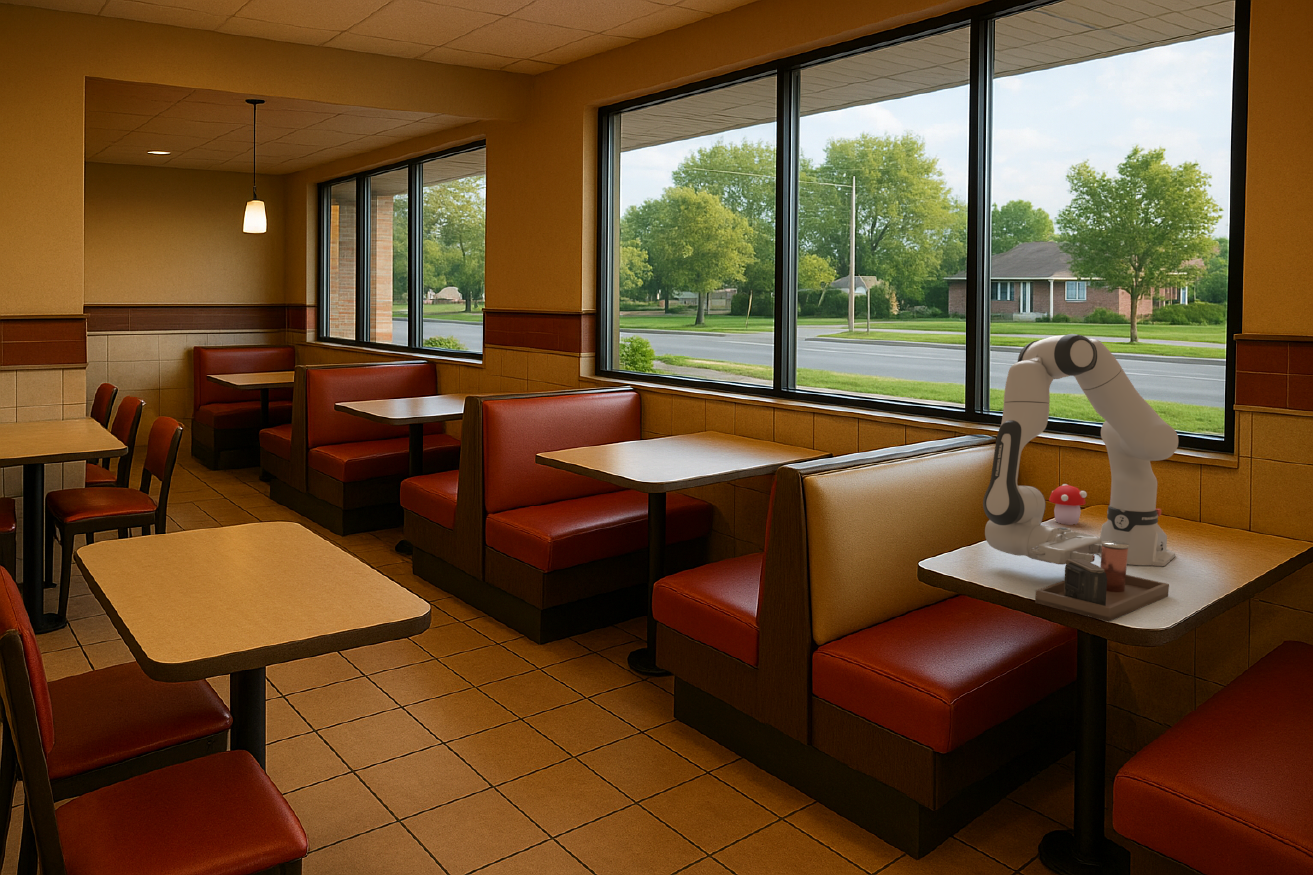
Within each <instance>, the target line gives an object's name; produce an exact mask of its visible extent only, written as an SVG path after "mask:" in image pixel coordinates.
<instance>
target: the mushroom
mask: <svg viewBox="0 0 1313 875" xmlns="http://www.w3.org/2000/svg"><path fill="white" fill-rule="evenodd" d="M1087 496H1088V493H1087V492H1086V491H1085V490H1080V488H1078V487H1077V486H1072V485H1070V484H1067V483H1063V484H1062V485H1060V486H1058V487H1056V488H1055V489H1054V490H1051V493H1050V496H1049V499H1048V502H1050V503H1053V504H1055V506H1054V510H1053V512H1054V521H1055V520H1056V523H1057V522H1058V523H1057V524H1060V523H1061V524H1062V525H1066V526H1067V525H1068V526H1069V525H1071V526H1073V524H1075V525H1078V524H1079V521H1080V516H1081V513H1082V511H1081V506H1084V505H1086V504H1087V502H1086V499H1085V498H1086V497H1087ZM1077 523H1078V524H1077ZM1061 524H1060V525H1061Z"/></svg>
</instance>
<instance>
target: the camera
mask: <svg viewBox="0 0 1313 875" xmlns="http://www.w3.org/2000/svg"><path fill="white" fill-rule="evenodd" d="M1063 581H1064V596H1067V597H1071V598H1075V599H1079V600H1083V601H1087V602H1091V603H1095V604H1099V605H1103V606H1106V588H1107V587H1106V586H1107V577H1106V573H1105V572H1104V569H1102V568H1100V566H1099V565H1097V564H1095V563H1093V562H1091V563H1090V562H1088V561H1085V560H1083V559H1068V560H1067V561H1066V564H1065V567H1064V578H1063Z"/></svg>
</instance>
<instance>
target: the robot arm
mask: <svg viewBox="0 0 1313 875" xmlns="http://www.w3.org/2000/svg"><path fill="white" fill-rule="evenodd" d="M1066 377H1074V379H1075V380H1076V382H1077V384H1078V386H1079V387H1080V388H1081V390H1082V392H1083V394H1084V395H1085V396H1086V398H1087V399H1088V401H1089V403H1090V404H1091V406H1092V407H1093V409H1094V411H1095V412H1096V413H1097V415H1099V416H1100V417H1102V419H1104V420H1105V421H1104V422H1103V423H1102V426H1101V429H1100V437H1101V440H1102V441H1103V443H1104V445H1105V448H1106V451H1107V455H1108V460H1109V466H1110V472H1111V473H1110V474H1111V475H1110V476H1111V477H1110V478H1111V485H1110V500H1109V505H1108V506H1107V511H1106V516H1107V517H1106V519H1107V521H1105V522H1103V523H1102V525H1101V530H1100V536H1099V537H1098V536H1094V535H1090V534H1087V533H1083V532H1079V531H1072V529H1071V528H1070V527H1054V526H1047V525H1046V526H1045V525H1042V522H1043V520H1044V519H1043V518H1044V514H1045V512H1046V507H1047V505H1046V504H1047V502H1046V499H1045V496H1044V494H1043V492H1041V490H1040V489H1038V488H1037V487H1035V486H1030V485H1018V478H1019V469H1020V463H1021V456H1022V451H1023V450H1024V448H1025V447H1026V445H1027V444H1028V443H1029V442H1030V441H1031V440H1034V439H1035V438H1036V437H1038V436H1040V435H1041V434H1042V433H1043V432H1044V431H1045V430H1046V428H1047V425H1048V422H1049V417H1050V402H1051V401H1050V389H1051V388H1050V387H1051V385H1052V383H1053V380H1060V379H1062V378H1063V379H1064V378H1066ZM1005 382H1006V383H1005V388H1004V396H1003V409H1002V417H1001V418H1002V419H1001V424H1000V426H999V429H998V432H997V434H996V440H995V446H994V452H993V453H994V454H993V461H992V469H991V476H990V481H989V484H988V487H987V489H986V491H985V492H984V493H985V494H984V496H983V499H982V507H983V511H984V513H985V515H986V517H987V518H988V519H989V520H988V521H987V522H986V524H985V528H984V536H985V540H986V542H987V543H988V545H989V546H990V547H991V548H993V549H995V550H996V551H999V552H1002V553H1004V554H1009V555H1013V556H1017V557H1018V556H1019V557H1021V556H1022V557H1023V556H1024V557H1028V558H1029V559H1031V560H1036V561H1040V562H1045V563H1048V564H1049V563H1050V564H1056V565H1066V561H1067V560H1068V559H1083V560H1085V561H1088V562H1090V563H1093V562H1095V555H1098V556H1099V557H1100V558H1101V553H1102V541H1119V542H1124V543H1127V544H1129V548H1128V556H1127V565H1134V566H1156V567H1157V566H1158V567H1165V566H1166V565H1168V563H1169V562H1171V561H1172V560H1173V559H1174V558H1175V557H1176V552H1175V551H1172V550H1170V549H1167V546H1168V534H1166V532H1164V530H1163V528H1161V527H1160V525H1159V524H1158V522H1159V520H1158V518H1159V517H1160V516H1161V515H1162V508H1156V507H1157V506H1156V505H1157V495H1158V479H1157V477H1156V475H1155V474H1154V472H1153V469H1152V464H1151V462H1153V461H1154V462H1156V461H1164V460H1167V459H1169V458H1171V457H1172V456H1173V455H1174V454H1175V452H1176V451H1177V448H1178V446H1179V435H1178V433H1177V431H1176V429H1175V428H1173V427H1172V426H1171V425H1170V424H1168V423H1167V422H1166V421H1165V420H1164V419H1163V418H1162V417H1161V416H1160V415H1159V414H1158V413H1157V411H1155V410H1154V408H1153V407H1152V406H1151V405H1150V404H1149V403H1148V402H1147V401H1146V400H1145V399H1144V398H1143V396H1141V394H1140V393H1139V392H1138V391H1137V390H1136V388H1135V386H1134V385H1133V383H1132V381H1131V380H1130V378H1129V377H1128V375H1127V374H1126V372H1125V371H1124V369H1123V367H1122V365H1121V364H1120V363H1119V361H1118V360H1117V359H1116V357H1115V355H1113V353H1112V352H1111V350H1109V348H1108V347H1107V346H1106V345H1105V344H1103V342H1101V341H1100V340H1099V339H1096V338H1087V337H1086V336H1084V335H1081V334H1076V333H1068V334H1062V335H1053V336H1049V337H1047V338H1046V337H1045V338H1043V339H1038V340H1034V341H1031V342H1028V344H1026V345H1025V346H1024V347H1022V349H1021V350H1020V352H1019V354H1018V358H1017V362H1015V363H1013V364H1012V365H1011V366H1010V367H1009V369H1008V373H1007V376H1006V381H1005ZM1170 560H1171V561H1170Z"/></svg>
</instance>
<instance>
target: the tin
mask: <svg viewBox="0 0 1313 875" xmlns="http://www.w3.org/2000/svg"><path fill="white" fill-rule="evenodd" d="M1128 548H1129V544H1127V543H1124V542H1119V541H1102V553H1101V557H1100V566H1099V567H1100V568H1102V569H1104V572H1105V573H1106V577H1107V586H1106V587H1107V588H1106V591H1108V592H1124V591H1125V580H1126V575H1127V567H1128V566H1127V565H1128V564H1127V556H1128Z"/></svg>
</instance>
